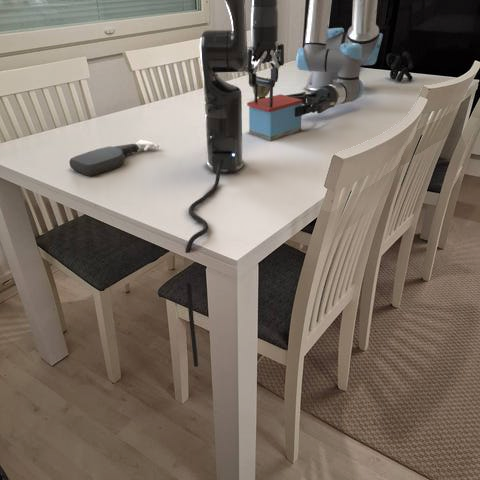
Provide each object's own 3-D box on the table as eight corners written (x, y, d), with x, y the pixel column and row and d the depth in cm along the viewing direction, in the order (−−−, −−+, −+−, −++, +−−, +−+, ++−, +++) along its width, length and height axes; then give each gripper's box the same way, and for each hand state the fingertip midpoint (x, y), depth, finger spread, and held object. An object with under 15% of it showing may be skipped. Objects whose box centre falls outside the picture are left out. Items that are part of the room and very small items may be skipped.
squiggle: (400, 92, 202) (376, 71, 205) (417, 76, 202) (392, 56, 205) (405, 81, 191) (380, 59, 194) (423, 64, 191) (397, 42, 194)
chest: (270, 140, 136) (270, 111, 131) (249, 133, 142) (248, 105, 138) (300, 130, 144) (302, 102, 139) (279, 123, 150) (280, 97, 145)
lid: (268, 112, 131) (269, 81, 126) (247, 105, 137) (246, 76, 133) (302, 102, 139) (303, 74, 134) (280, 97, 145) (281, 69, 141)
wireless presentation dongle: (67, 168, 120) (139, 144, 136) (91, 178, 114) (163, 151, 130) (65, 157, 118) (137, 134, 134) (89, 167, 112) (162, 142, 128)
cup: (248, 101, 174) (248, 80, 169) (256, 97, 179) (256, 76, 175) (265, 103, 171) (266, 82, 166) (273, 99, 176) (274, 78, 172)
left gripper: (273, 20, 129) (271, 78, 138) (235, 25, 122) (237, 86, 130) (291, 22, 125) (289, 82, 133) (254, 27, 117) (254, 90, 126)
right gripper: (354, 113, 149) (309, 128, 136) (304, 101, 163) (259, 113, 151) (357, 90, 145) (311, 103, 132) (305, 79, 159) (260, 90, 147)
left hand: (263, 84), depth 132 cm, fingers open, 8 cm apart
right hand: (283, 108), depth 142 cm, fingers closed on chest, 10 cm apart
